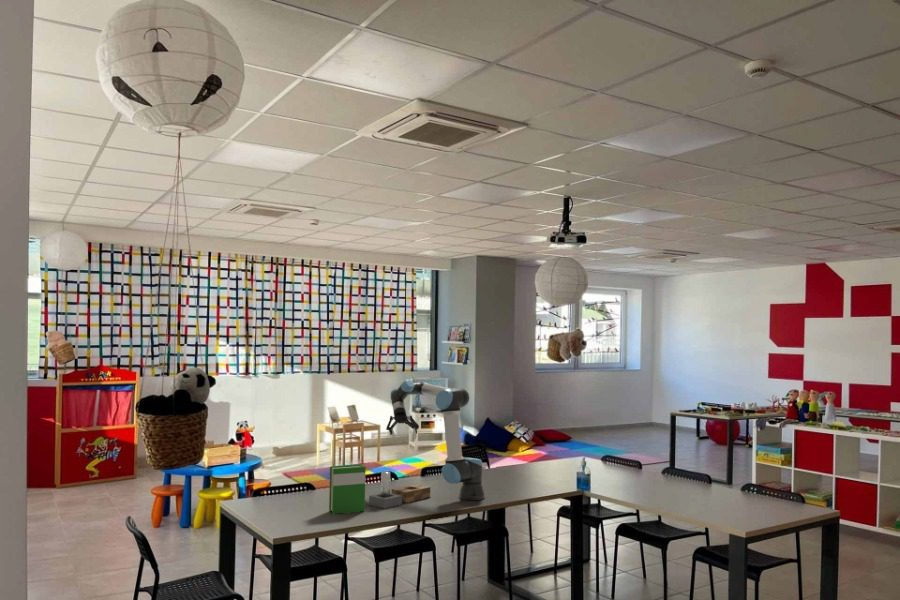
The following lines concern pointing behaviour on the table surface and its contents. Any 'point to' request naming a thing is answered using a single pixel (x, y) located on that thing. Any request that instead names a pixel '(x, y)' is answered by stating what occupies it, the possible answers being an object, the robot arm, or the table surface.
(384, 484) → the translucent white cylinder
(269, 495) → the table surface
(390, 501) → the socket
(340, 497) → the hardback book
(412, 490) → the tan hollow box
